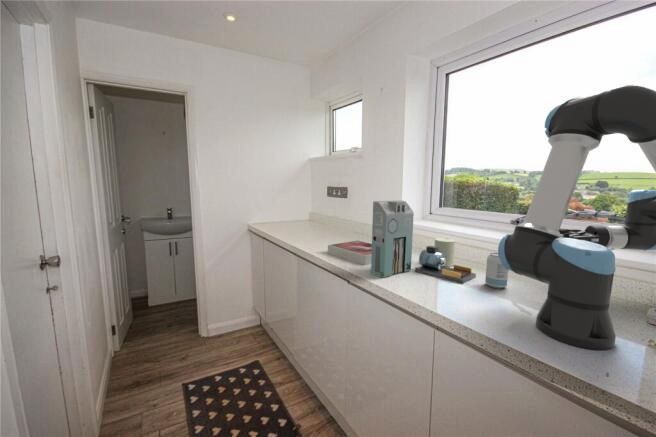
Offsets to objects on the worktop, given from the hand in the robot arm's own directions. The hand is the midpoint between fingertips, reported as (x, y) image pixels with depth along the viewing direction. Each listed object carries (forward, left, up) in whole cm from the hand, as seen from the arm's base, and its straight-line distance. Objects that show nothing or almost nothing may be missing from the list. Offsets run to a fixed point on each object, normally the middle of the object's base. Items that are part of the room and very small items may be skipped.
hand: (530, 234), depth 101 cm
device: (-21, +43, -20) cm, 52 cm away
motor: (-6, +27, -20) cm, 34 cm away
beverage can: (-5, +8, -20) cm, 22 cm away
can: (+9, +35, -20) cm, 41 cm away
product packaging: (-10, +70, -21) cm, 74 cm away
